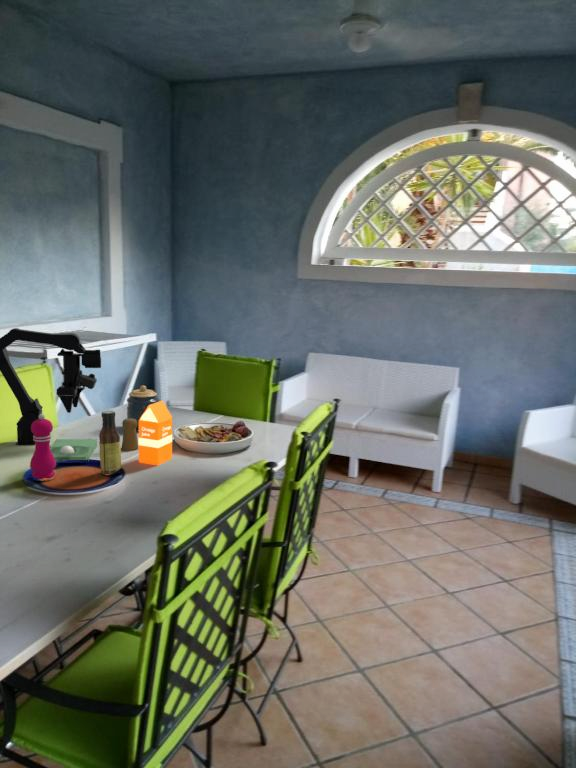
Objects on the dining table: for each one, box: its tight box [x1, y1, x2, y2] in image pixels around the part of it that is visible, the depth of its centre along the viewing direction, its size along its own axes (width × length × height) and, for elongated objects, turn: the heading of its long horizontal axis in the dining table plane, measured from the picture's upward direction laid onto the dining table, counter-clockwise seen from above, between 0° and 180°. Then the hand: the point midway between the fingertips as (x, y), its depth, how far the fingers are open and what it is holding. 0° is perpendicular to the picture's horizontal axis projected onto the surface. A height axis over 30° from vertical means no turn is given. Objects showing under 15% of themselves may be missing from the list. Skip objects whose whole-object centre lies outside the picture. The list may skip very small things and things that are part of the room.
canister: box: [126, 385, 160, 430], centre depth 234 cm, size 13×13×18 cm
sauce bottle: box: [98, 410, 122, 475], centre depth 178 cm, size 6×6×20 cm
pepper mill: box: [29, 413, 57, 479], centre depth 171 cm, size 7×7×20 cm
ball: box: [60, 446, 74, 454], centre depth 192 cm, size 4×4×4 cm
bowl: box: [173, 420, 255, 455], centre depth 216 cm, size 30×30×8 cm
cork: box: [120, 418, 139, 452], centre depth 206 cm, size 6×6×11 cm
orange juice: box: [138, 400, 173, 466], centre depth 193 cm, size 8×9×20 cm
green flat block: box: [50, 438, 98, 461], centre depth 196 cm, size 21×14×2 cm, turn 9°
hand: (72, 409), depth 211 cm, fingers open, 9 cm apart
